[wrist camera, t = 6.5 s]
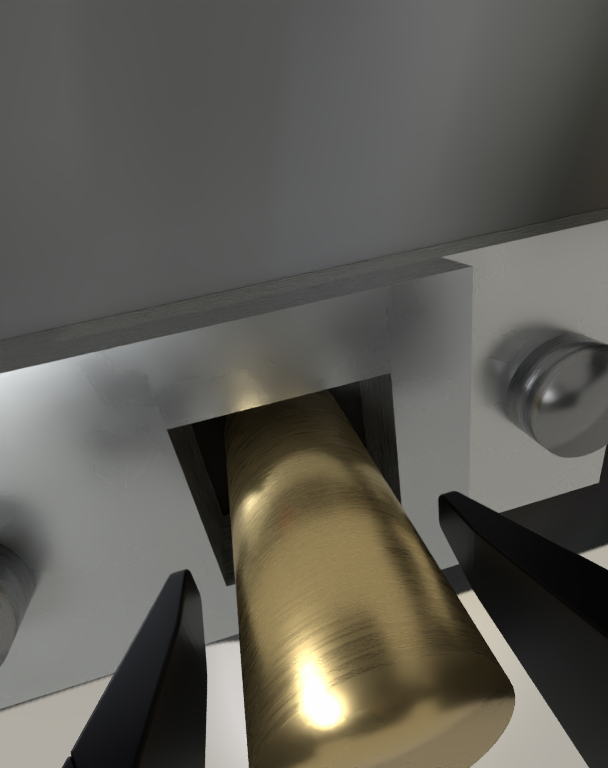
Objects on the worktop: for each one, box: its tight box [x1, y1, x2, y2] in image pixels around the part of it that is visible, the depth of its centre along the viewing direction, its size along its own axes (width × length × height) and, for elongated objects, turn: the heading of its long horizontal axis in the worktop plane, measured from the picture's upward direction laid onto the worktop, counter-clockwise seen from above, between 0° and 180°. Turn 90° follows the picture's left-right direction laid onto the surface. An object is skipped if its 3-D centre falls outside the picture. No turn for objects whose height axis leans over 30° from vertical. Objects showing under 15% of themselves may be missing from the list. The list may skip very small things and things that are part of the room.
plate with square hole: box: [0, 208, 608, 709], centre depth 12 cm, size 23×10×4 cm, turn 100°
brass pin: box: [224, 389, 515, 768], centre depth 10 cm, size 4×4×9 cm
